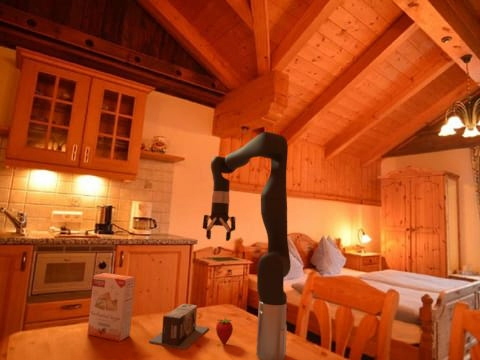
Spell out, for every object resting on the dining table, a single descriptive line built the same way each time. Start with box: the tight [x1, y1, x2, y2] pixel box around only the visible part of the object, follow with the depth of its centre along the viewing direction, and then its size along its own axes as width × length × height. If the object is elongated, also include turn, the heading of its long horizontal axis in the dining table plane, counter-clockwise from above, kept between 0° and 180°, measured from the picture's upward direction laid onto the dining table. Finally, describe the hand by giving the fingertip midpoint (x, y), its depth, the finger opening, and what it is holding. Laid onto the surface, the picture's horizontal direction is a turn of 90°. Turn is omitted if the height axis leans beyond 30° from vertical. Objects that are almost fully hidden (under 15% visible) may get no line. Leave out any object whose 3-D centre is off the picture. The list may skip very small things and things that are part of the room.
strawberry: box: [215, 315, 234, 346], centre depth 106 cm, size 6×8×10 cm
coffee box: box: [161, 303, 198, 346], centre depth 109 cm, size 9×6×16 cm
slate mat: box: [148, 324, 210, 351], centre depth 111 cm, size 14×20×1 cm
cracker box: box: [87, 272, 136, 342], centre depth 108 cm, size 14×6×21 cm, turn 73°
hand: (218, 240), depth 129 cm, fingers open, 8 cm apart
